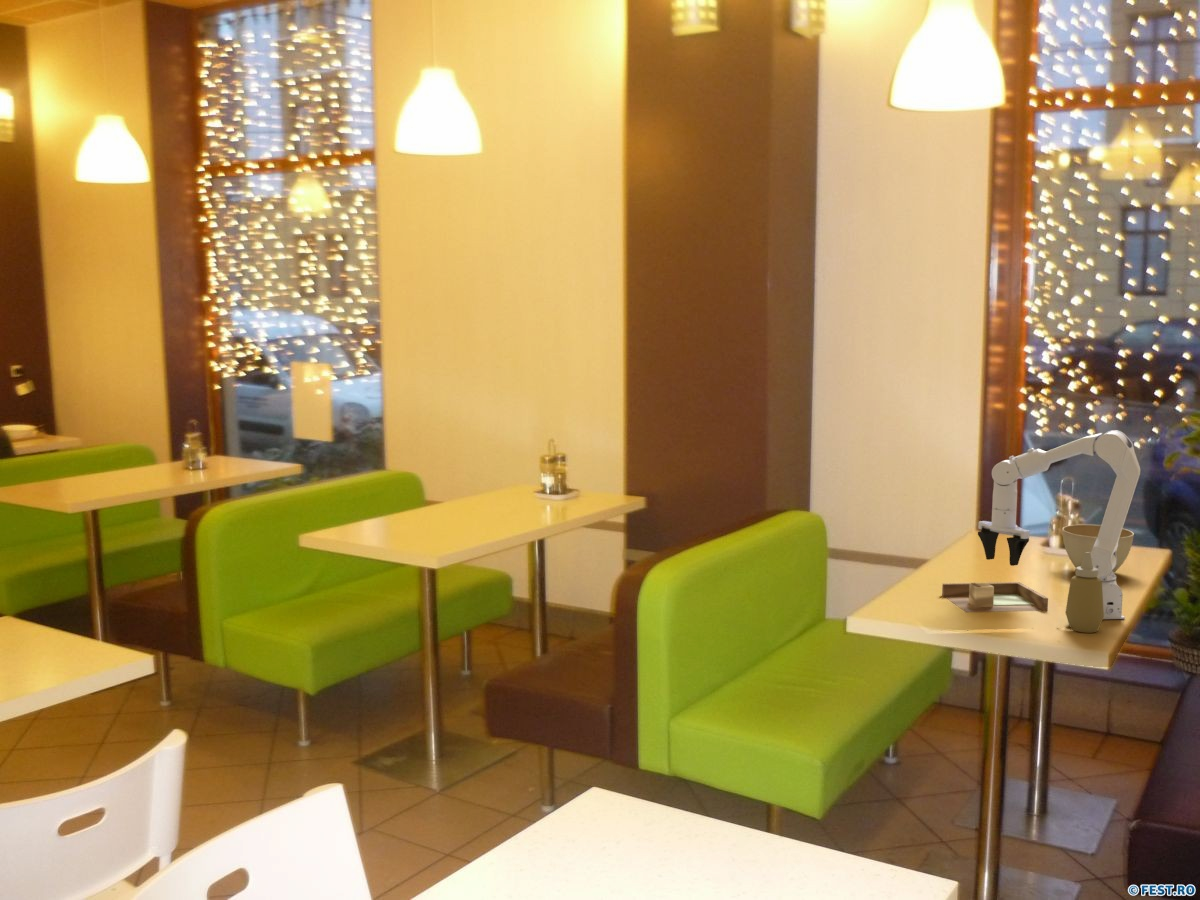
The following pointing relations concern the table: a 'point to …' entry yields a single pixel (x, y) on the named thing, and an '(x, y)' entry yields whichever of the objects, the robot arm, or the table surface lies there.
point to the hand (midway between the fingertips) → (1001, 562)
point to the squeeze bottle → (1085, 598)
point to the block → (981, 594)
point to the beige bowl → (1092, 543)
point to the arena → (998, 597)
